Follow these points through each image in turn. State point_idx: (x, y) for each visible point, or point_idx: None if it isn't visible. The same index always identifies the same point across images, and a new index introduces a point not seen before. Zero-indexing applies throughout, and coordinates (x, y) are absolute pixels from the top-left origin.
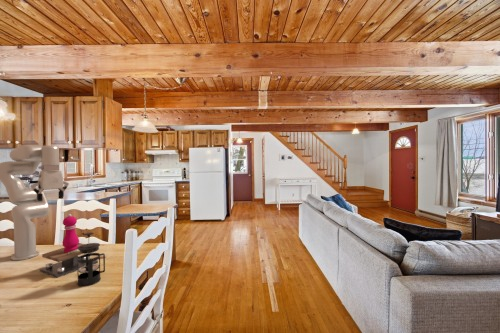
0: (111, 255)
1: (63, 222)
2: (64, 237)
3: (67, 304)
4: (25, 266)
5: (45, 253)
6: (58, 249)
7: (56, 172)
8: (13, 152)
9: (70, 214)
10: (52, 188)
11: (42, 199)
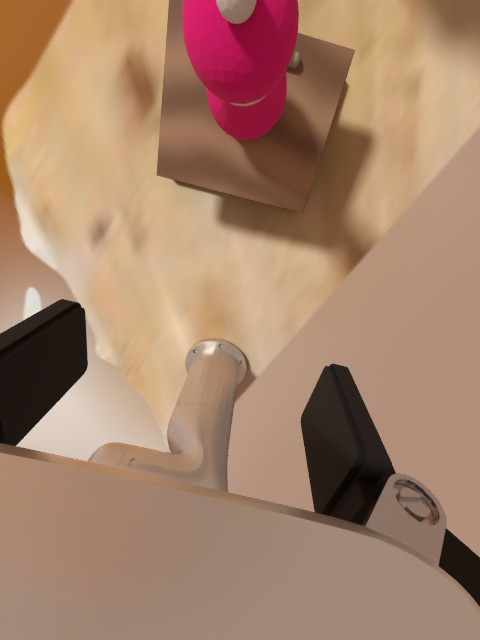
0: (102, 43)
1: (294, 48)
2: (269, 106)
3: None
4: (272, 297)
5: (293, 206)
6: (245, 194)
7: None
8: None
9: None
10: (173, 500)
11: (331, 375)
